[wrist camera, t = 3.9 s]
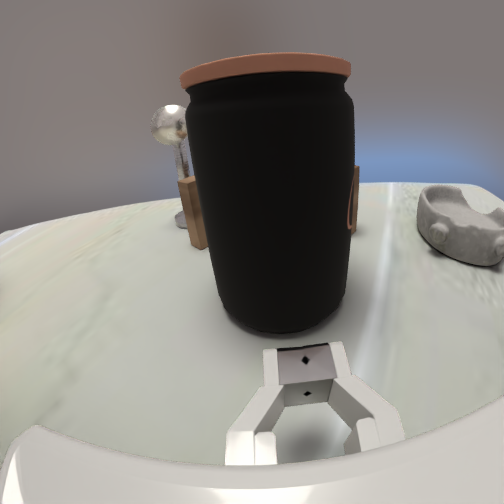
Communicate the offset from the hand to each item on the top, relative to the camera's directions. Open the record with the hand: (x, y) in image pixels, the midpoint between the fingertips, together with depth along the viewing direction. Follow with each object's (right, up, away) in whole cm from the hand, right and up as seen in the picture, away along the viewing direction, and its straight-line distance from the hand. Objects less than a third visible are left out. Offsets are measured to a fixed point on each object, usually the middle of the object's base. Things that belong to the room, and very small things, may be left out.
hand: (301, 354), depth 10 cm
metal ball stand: (-10, +8, +29) cm, 32 cm away
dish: (+25, +5, +18) cm, 31 cm away
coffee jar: (+1, 0, +14) cm, 14 cm away
